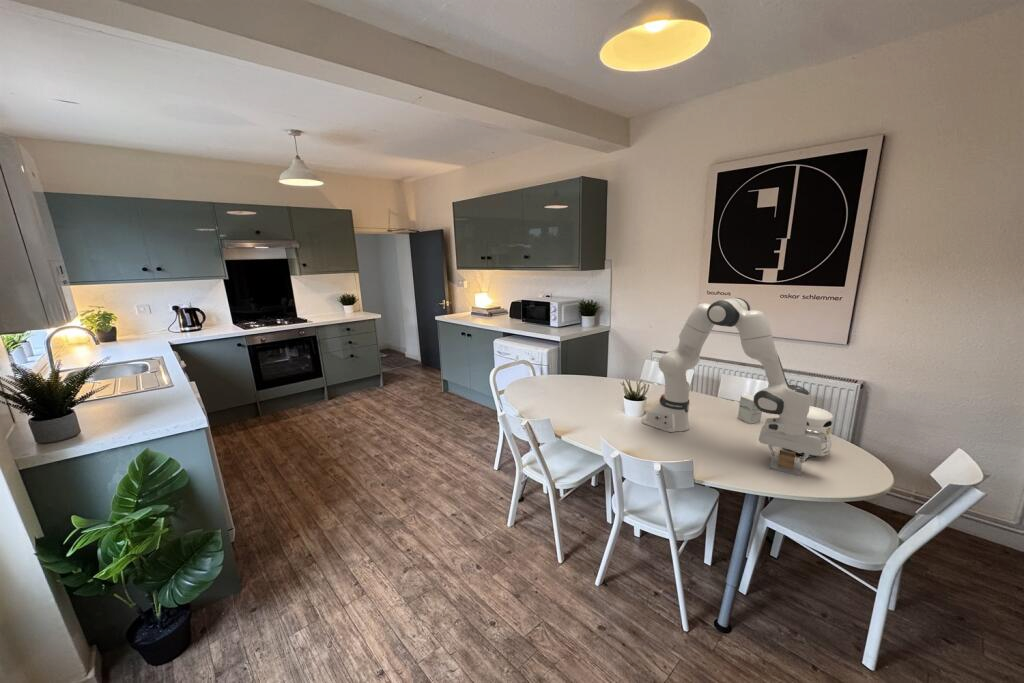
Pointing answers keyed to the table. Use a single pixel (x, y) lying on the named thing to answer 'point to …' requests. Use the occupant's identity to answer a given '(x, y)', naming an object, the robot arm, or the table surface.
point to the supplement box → (749, 410)
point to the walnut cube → (786, 459)
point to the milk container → (819, 427)
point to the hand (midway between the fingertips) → (786, 458)
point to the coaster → (794, 471)
